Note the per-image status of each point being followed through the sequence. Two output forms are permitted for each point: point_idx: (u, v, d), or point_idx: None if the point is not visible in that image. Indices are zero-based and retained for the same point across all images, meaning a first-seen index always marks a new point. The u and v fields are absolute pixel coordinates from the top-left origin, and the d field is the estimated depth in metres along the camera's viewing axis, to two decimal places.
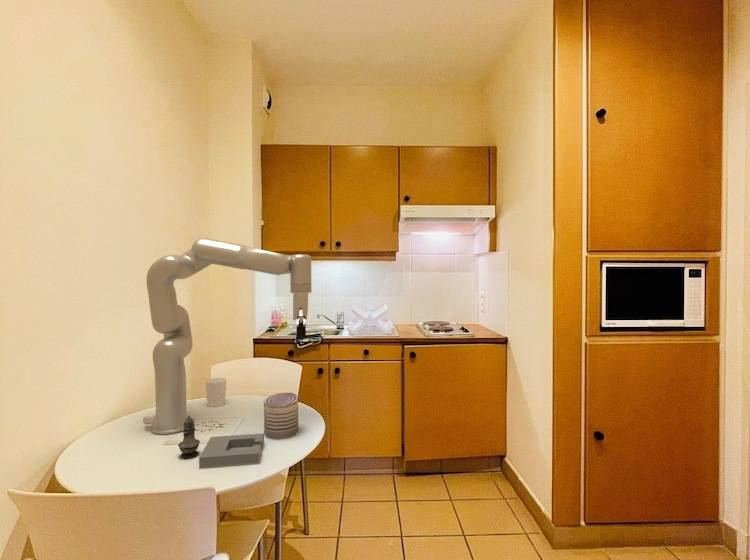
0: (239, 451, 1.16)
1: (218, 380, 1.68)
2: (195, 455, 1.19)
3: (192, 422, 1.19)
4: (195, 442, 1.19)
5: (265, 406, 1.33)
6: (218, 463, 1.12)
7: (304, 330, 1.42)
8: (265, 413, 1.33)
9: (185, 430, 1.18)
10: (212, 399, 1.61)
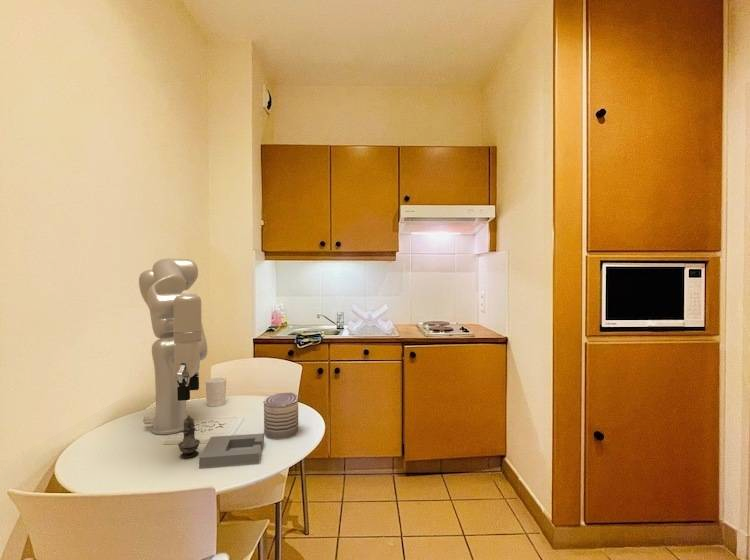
0: (239, 451, 1.16)
1: (218, 380, 1.68)
2: (195, 455, 1.19)
3: (192, 422, 1.19)
4: (195, 442, 1.19)
5: (265, 406, 1.33)
6: (218, 463, 1.12)
7: (187, 391, 1.14)
8: (265, 413, 1.33)
9: (185, 430, 1.18)
10: (212, 399, 1.61)
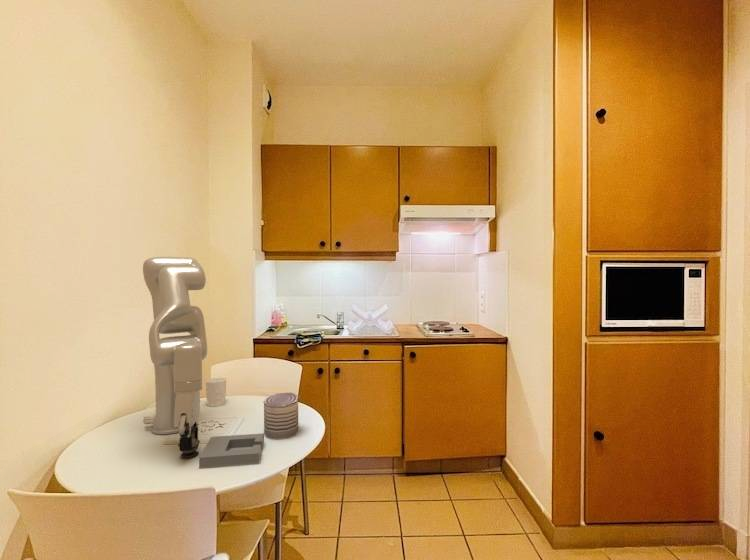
0: (239, 451, 1.16)
1: (218, 380, 1.68)
2: (195, 455, 1.19)
3: None
4: (195, 442, 1.19)
5: (265, 406, 1.33)
6: (218, 463, 1.12)
7: (189, 441, 1.16)
8: (265, 413, 1.33)
9: None
10: (212, 399, 1.61)
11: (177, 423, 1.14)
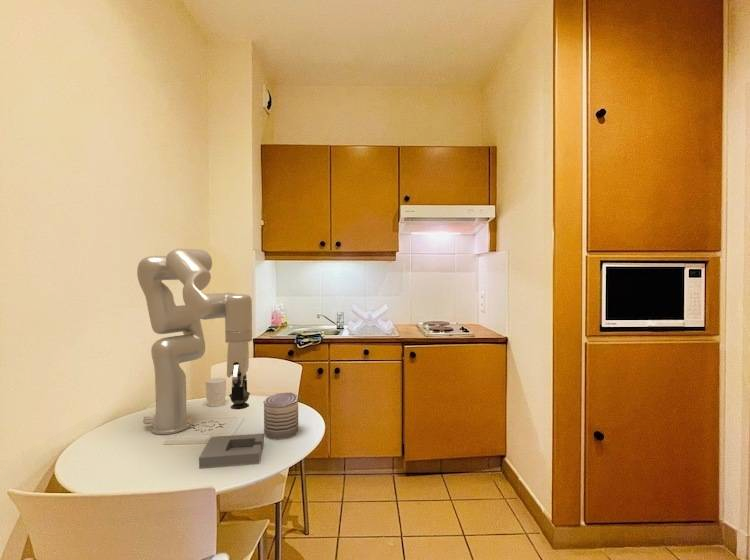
0: (239, 451, 1.16)
1: (218, 380, 1.68)
2: (246, 406, 1.19)
3: None
4: (246, 393, 1.19)
5: (265, 406, 1.33)
6: (218, 463, 1.12)
7: (241, 391, 1.16)
8: (265, 413, 1.33)
9: None
10: (212, 399, 1.61)
11: (230, 372, 1.14)
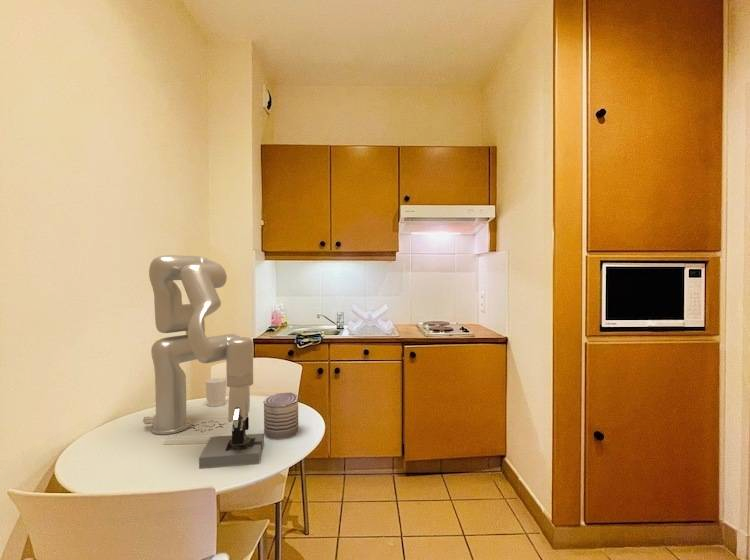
0: (239, 451, 1.16)
1: (218, 380, 1.68)
2: None
3: None
4: (246, 440, 1.20)
5: (265, 406, 1.33)
6: (218, 463, 1.12)
7: (241, 434, 1.15)
8: (265, 413, 1.33)
9: None
10: (212, 399, 1.61)
11: (231, 417, 1.15)
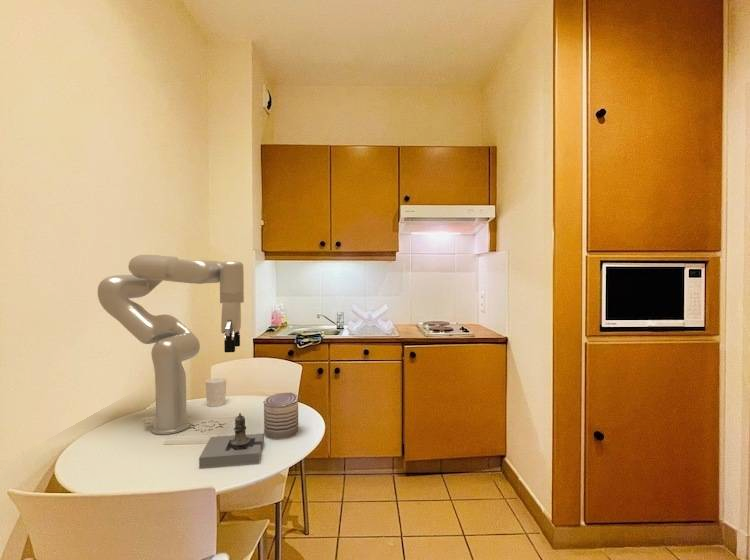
0: (239, 451, 1.16)
1: (218, 380, 1.68)
2: None
3: (243, 420, 1.20)
4: (246, 439, 1.20)
5: (265, 406, 1.33)
6: (218, 463, 1.12)
7: (233, 344, 1.30)
8: (265, 413, 1.33)
9: (237, 428, 1.19)
10: (212, 399, 1.61)
11: (224, 328, 1.30)
